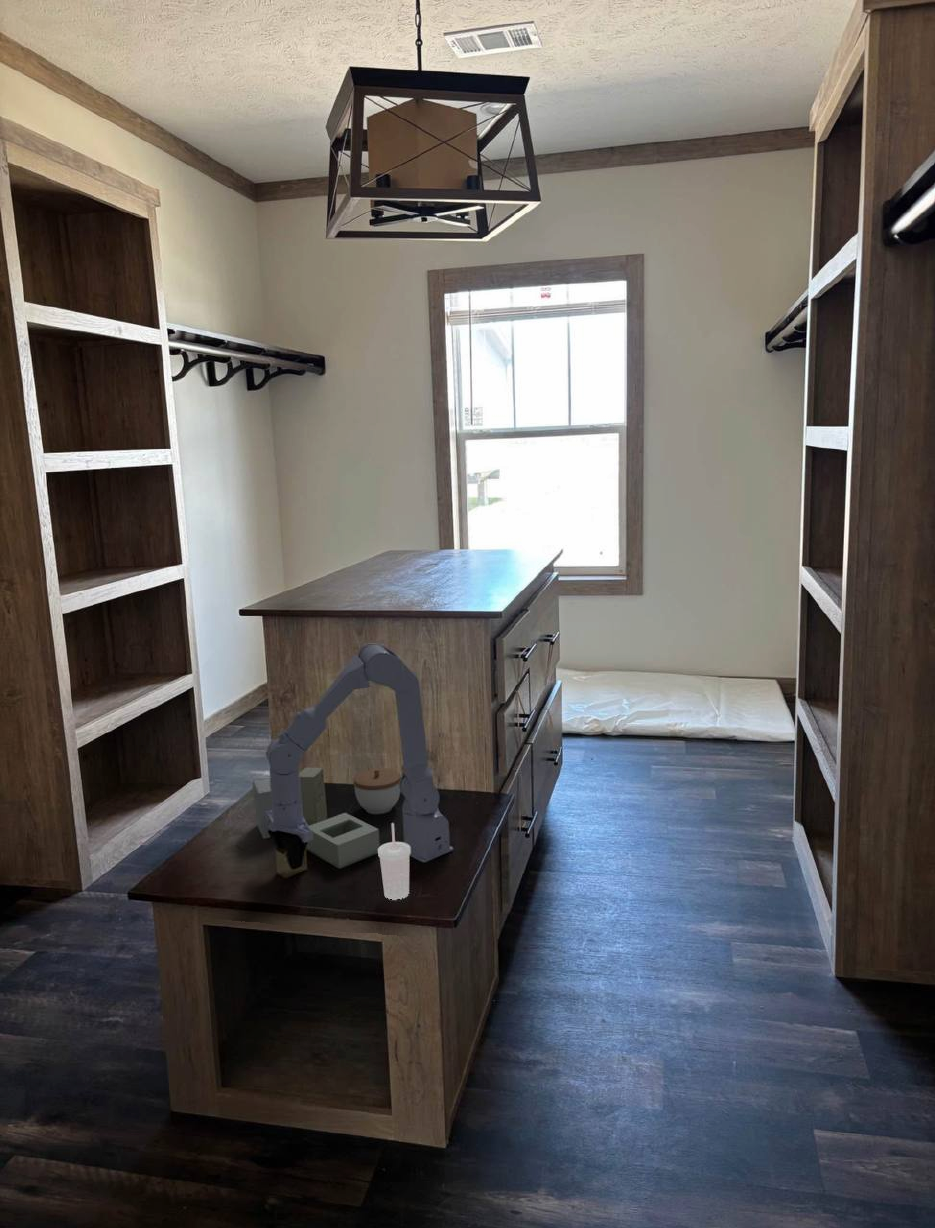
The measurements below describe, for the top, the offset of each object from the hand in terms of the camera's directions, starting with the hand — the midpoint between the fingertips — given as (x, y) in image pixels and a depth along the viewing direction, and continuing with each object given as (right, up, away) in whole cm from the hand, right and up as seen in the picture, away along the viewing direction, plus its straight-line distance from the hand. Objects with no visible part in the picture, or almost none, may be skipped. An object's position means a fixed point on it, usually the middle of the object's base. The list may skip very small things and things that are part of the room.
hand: (291, 864), depth 177 cm
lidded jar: (+14, +5, +29) cm, 32 cm away
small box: (-8, +2, +20) cm, 21 cm away
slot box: (+9, +1, +8) cm, 12 cm away
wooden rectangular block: (0, -1, 0) cm, 1 cm away
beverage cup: (+21, -3, -10) cm, 24 cm away
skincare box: (+1, +3, +22) cm, 22 cm away
